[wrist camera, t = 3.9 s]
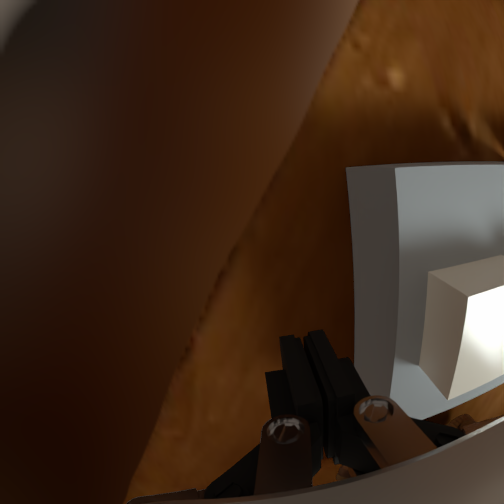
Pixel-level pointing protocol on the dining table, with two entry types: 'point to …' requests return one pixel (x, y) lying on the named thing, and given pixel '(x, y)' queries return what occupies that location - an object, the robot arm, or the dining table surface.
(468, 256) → the grey square block
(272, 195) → the dining table surface
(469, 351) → the cream upright block
